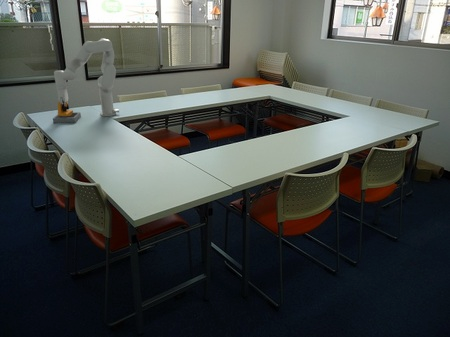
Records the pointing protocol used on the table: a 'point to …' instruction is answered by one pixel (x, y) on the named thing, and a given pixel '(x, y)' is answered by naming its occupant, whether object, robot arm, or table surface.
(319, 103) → the table surface
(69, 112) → the bracket
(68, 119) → the bin
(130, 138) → the table surface
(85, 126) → the table surface
